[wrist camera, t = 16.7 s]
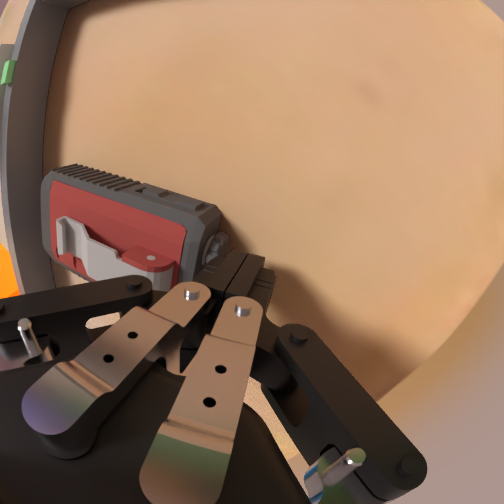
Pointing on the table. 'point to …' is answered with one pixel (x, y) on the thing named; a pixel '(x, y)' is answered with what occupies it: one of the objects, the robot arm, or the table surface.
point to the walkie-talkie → (126, 228)
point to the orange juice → (7, 275)
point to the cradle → (28, 139)
